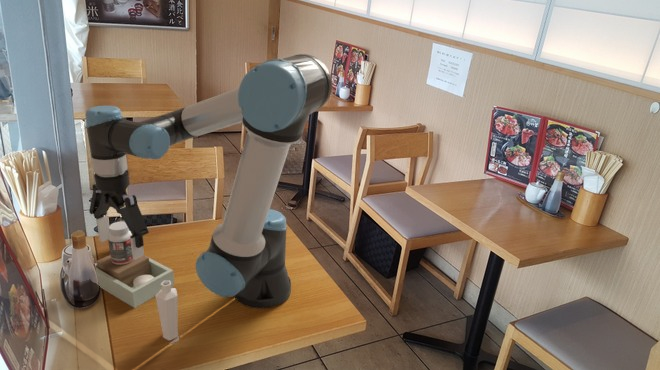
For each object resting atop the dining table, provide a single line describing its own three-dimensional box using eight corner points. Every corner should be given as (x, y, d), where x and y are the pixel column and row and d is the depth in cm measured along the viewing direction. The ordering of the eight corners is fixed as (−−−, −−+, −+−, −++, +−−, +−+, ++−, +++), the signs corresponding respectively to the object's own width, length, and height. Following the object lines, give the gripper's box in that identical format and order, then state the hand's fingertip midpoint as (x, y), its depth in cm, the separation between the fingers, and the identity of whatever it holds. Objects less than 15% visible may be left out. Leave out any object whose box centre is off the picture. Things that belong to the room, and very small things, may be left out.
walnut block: (150, 277, 124) (148, 258, 122) (120, 293, 117) (118, 273, 115) (129, 265, 128) (127, 246, 126) (99, 280, 121) (96, 261, 119)
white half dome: (159, 289, 120) (158, 279, 118) (143, 298, 116) (141, 288, 115) (147, 282, 122) (145, 272, 121) (130, 291, 118) (129, 281, 117)
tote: (174, 287, 122) (173, 270, 120) (135, 311, 113) (132, 292, 110) (131, 264, 131) (129, 247, 128) (91, 284, 121) (88, 266, 119)
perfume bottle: (175, 328, 108) (171, 274, 102) (184, 338, 105) (180, 283, 99) (156, 336, 105) (150, 281, 99) (165, 347, 102) (159, 291, 96)
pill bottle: (133, 264, 118) (129, 230, 115) (109, 266, 117) (104, 231, 113) (136, 252, 124) (132, 219, 120) (113, 254, 122) (108, 221, 118)
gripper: (158, 180, 108) (166, 258, 116) (94, 155, 119) (105, 228, 128) (130, 190, 102) (140, 271, 110) (65, 163, 114) (79, 238, 122)
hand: (121, 248), depth 119 cm, fingers open, 13 cm apart
